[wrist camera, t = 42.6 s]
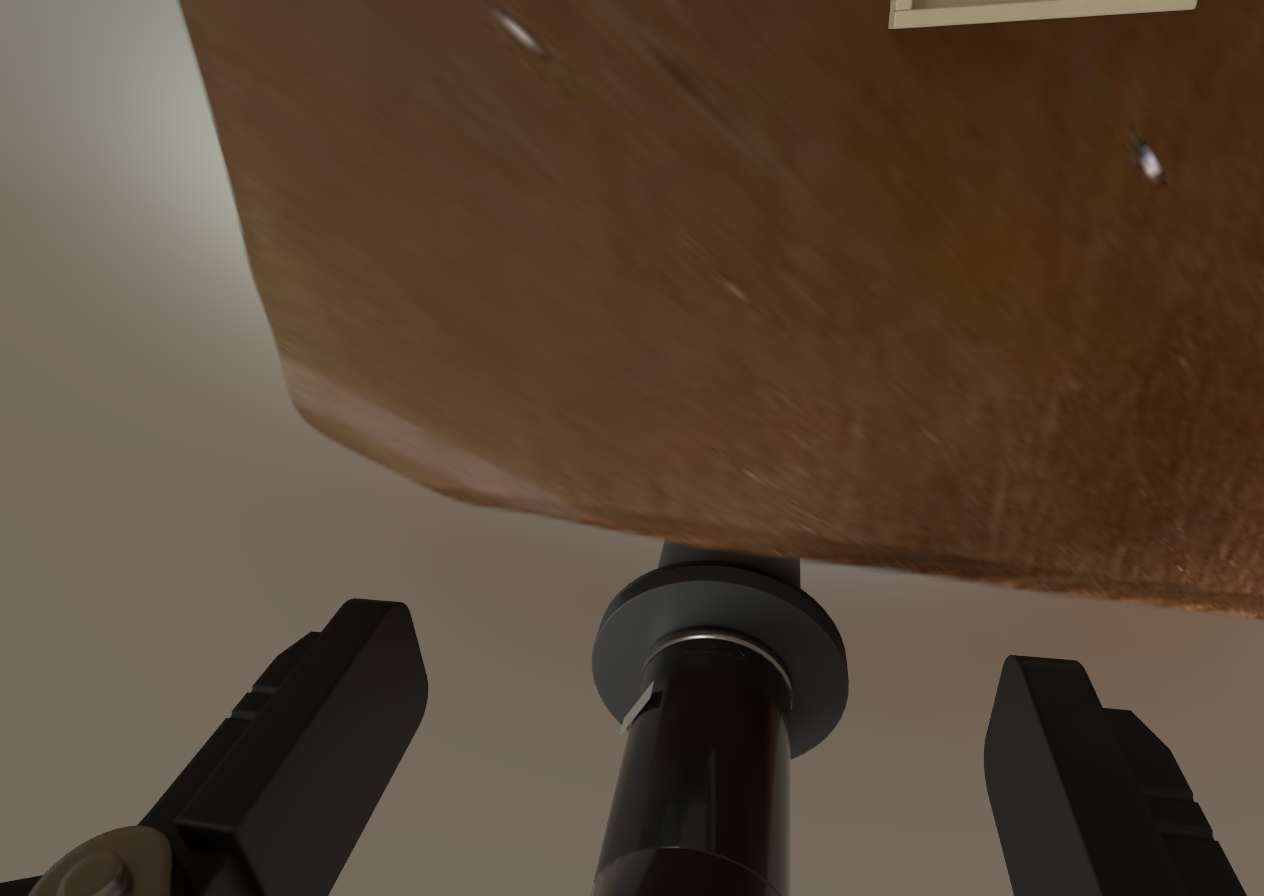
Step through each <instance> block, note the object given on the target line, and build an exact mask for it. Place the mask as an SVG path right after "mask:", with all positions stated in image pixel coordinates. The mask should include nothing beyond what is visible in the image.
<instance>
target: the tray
mask: <svg viewBox="0 0 1264 896" xmlns="http://www.w3.org/2000/svg"><path fill="white" fill-rule="evenodd" d="M1197 1H1198V0H891V6H890V17H889V29H900V28H916V27H931V26H946V25H962V24H977V23H993V22H1008V21H1023V20H1039V19H1054V18H1069V17H1085V16H1100V15H1115V14H1131V13H1146V12H1162V11H1177V10H1192V9H1195V8H1196V4H1197Z"/></svg>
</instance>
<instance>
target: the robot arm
mask: <svg viewBox="0 0 1264 896" xmlns="http://www.w3.org/2000/svg"><path fill="white" fill-rule="evenodd" d="M252 688H253V689H252V692H251V693H246V695H245V696H244V697H243V698H242V700H241V701H240V702H239V703H238V704H237V706H236V707H235V708H234V709H233V710H232V716H231V717H230V718H226V719H225V720H224V721H223V723H222V724H221V725H220V726H219V727H218V729H217V730H216V731H215V732H214V734H213V735H212V736H211V737H210V738H209V740H208V741H207V742H206V743H205V745H204V746H203V747H202V748H201V749H200V751H199V752H198V753H197V754H196V755H195V757H194V758H193V759H192V760H191V762H190V763H189V764H188V765H187V767H186V768H185V769H184V770H183V771H182V773H181V774H180V775H179V776H178V777H177V779H176V780H175V781H174V782H173V784H172V785H171V786H170V787H169V788H168V790H167V791H166V792H165V793H164V794H163V796H162V797H161V798H160V799H159V801H158V802H157V803H156V804H155V806H154V807H153V808H152V809H151V810H150V812H149V813H148V814H147V815H146V816H145V817H144V818H143V819H142V821H141V822H140V823H139V824H138V825H137V826H128V827H123V828H118V829H115V830H112V831H108V832H106V833H103V834H101V835H98V836H96V837H94V838H92V839H90V840H88V841H86V842H85V843H83V844H81V845H79V846H78V847H76V848H75V849H74V850H72V851H71V852H69V853H68V854H66V855H65V856H64V857H63V858H61V859H60V860H59V861H58V862H57V863H55V864H54V865H53V866H52V867H51V868H50V869H49V870H48V871H47V872H46V873H45V874H44V875H42V876H36V877H31V878H25V879H20V880H14V881H9V882H4V883H0V896H328V895H329V893H330V891H331V889H332V887H333V886H334V884H335V882H336V880H337V878H338V876H339V874H340V872H341V871H342V869H343V867H344V865H345V863H346V861H347V859H348V857H349V856H350V854H351V852H352V850H353V848H354V846H355V844H356V842H357V841H358V839H359V837H360V835H361V833H362V831H363V829H364V828H365V826H366V824H367V822H368V820H369V818H370V817H371V815H372V813H373V811H374V809H375V807H376V805H377V803H378V801H379V800H380V798H381V796H382V794H383V792H384V790H385V788H386V786H387V785H388V783H389V781H390V779H391V777H392V775H393V774H394V772H395V770H396V768H397V766H398V764H399V762H400V760H401V759H402V757H403V755H404V753H405V751H406V749H407V747H408V746H409V744H410V742H411V740H412V738H413V736H414V734H415V732H416V731H417V729H418V727H419V725H420V722H421V721H422V718H423V715H424V712H425V708H426V704H427V698H428V680H427V675H426V671H425V667H424V664H423V660H422V656H421V652H420V648H419V644H418V640H417V637H416V633H415V629H414V625H413V621H412V617H411V614H410V611H409V609H408V607H407V606H406V605H405V604H404V603H402V602H393V601H380V600H369V599H356V598H354V599H350V600H348V601H347V602H345V603H344V604H343V605H342V606H341V608H340V609H339V610H338V611H337V613H336V614H335V615H334V617H333V618H332V619H331V620H330V622H329V623H328V624H327V625H326V627H325V628H324V629H323V631H322V632H310V633H309V634H307V635H306V636H304V637H303V638H302V639H300V640H299V641H298V642H296V643H295V644H293V645H292V646H291V647H289V648H288V649H286V650H285V651H284V652H282V653H281V654H279V655H278V656H277V657H276V658H275V659H274V661H273V662H272V663H271V664H270V665H269V667H268V668H267V669H266V670H265V672H264V673H263V674H262V675H261V676H260V678H259V679H258V680H257V681H256V682H255V684H254V685H253V686H252ZM792 703H793V689H792V679H791V675H790V673H789V670H788V668H787V666H786V664H785V663H784V661H783V660H782V659H781V657H780V656H779V655H778V654H777V653H776V652H775V651H774V650H773V649H772V648H771V647H769V646H768V645H767V644H765V643H764V642H762V641H761V640H759V639H757V638H755V637H754V636H751V635H749V634H747V633H744V632H741V631H739V630H735V629H731V628H726V627H720V626H694V627H688V628H684V629H680V630H677V631H675V632H672V633H670V634H668V635H666V636H665V637H663V638H661V639H660V640H659V641H658V642H656V643H655V644H654V645H653V646H652V648H651V649H650V650H649V652H648V653H647V655H646V657H645V660H644V663H643V666H642V671H641V675H640V681H639V691H638V695H637V700H636V704H635V705H634V706H633V708H632V709H631V710H630V711H629V713H628V714H627V715H626V717H625V718H624V720H623V724H622V728H621V733H620V735H621V734H622V733H623V732H624V730H625V729H626V728H627V727H628V725H629V724H630V723H631V724H630V728H629V733H628V737H627V741H626V746H625V750H624V754H623V758H622V763H621V767H620V771H619V776H618V780H617V784H616V788H615V793H614V797H613V801H612V806H611V811H610V814H609V819H608V823H607V827H606V832H605V836H604V840H603V844H602V849H601V854H600V857H599V862H598V866H597V870H596V874H595V879H594V885H593V889H592V893H591V896H790V743H791V709H792ZM984 770H985V780H986V786H987V791H988V795H989V799H990V803H991V807H992V811H993V815H994V819H995V822H996V827H997V830H998V834H999V838H1000V842H1001V846H1002V850H1003V854H1004V857H1005V862H1006V865H1007V869H1008V873H1009V877H1010V881H1011V885H1012V889H1013V892H1014V896H1247V895H1246V893H1245V891H1244V890H1243V888H1242V886H1241V884H1240V882H1239V880H1238V878H1237V876H1236V874H1235V873H1234V871H1233V869H1232V867H1231V865H1230V863H1229V861H1228V859H1227V857H1226V855H1225V854H1224V851H1223V850H1222V848H1221V846H1220V844H1219V842H1218V841H1214V839H1213V835H1212V833H1213V831H1212V829H1211V827H1210V825H1209V823H1208V821H1207V819H1206V817H1205V816H1204V813H1203V812H1202V810H1201V808H1200V806H1199V804H1198V803H1197V802H1194V800H1193V792H1192V791H1191V789H1190V787H1189V785H1188V783H1187V781H1186V779H1185V777H1184V775H1183V774H1182V772H1181V770H1180V768H1179V766H1178V764H1177V762H1176V760H1175V758H1174V756H1173V755H1172V753H1171V751H1170V749H1169V748H1168V747H1167V746H1166V745H1165V744H1164V743H1163V742H1162V741H1161V740H1160V739H1159V738H1158V737H1157V736H1156V735H1155V734H1154V733H1152V731H1151V730H1150V729H1149V728H1148V727H1147V726H1146V725H1145V724H1143V722H1142V721H1141V720H1140V719H1139V718H1138V717H1137V716H1136V715H1135V714H1133V713H1132V711H1130V710H1120V709H1108V708H1102V706H1101V703H1100V701H1099V699H1098V697H1097V694H1096V692H1095V690H1094V688H1093V686H1092V684H1091V681H1090V679H1089V677H1088V675H1087V673H1086V671H1085V669H1084V667H1083V666H1082V665H1081V664H1080V663H1079V662H1078V661H1075V660H1064V659H1051V658H1040V657H1028V656H1016V655H1010V656H1008V657H1007V658H1006V660H1005V662H1004V665H1003V669H1002V673H1001V677H1000V681H999V685H998V689H997V693H996V697H995V702H994V706H993V710H992V714H991V718H990V722H989V726H988V730H987V734H986V739H985V747H984Z"/></svg>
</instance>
